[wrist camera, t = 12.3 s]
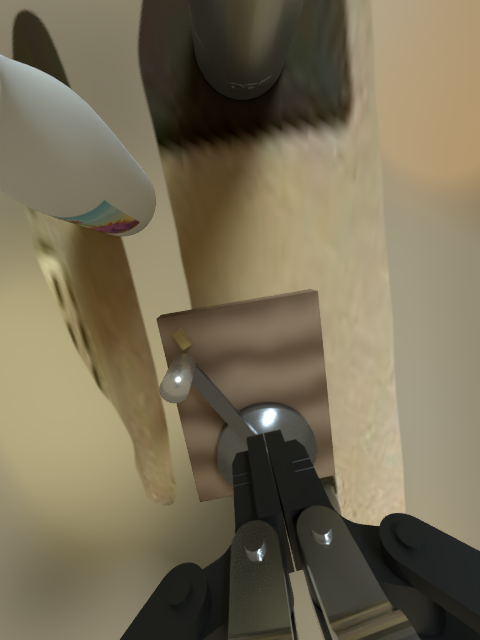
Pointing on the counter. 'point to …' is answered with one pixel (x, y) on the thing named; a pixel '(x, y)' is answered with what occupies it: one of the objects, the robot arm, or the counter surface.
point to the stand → (251, 372)
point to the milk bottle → (67, 156)
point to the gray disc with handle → (235, 414)
